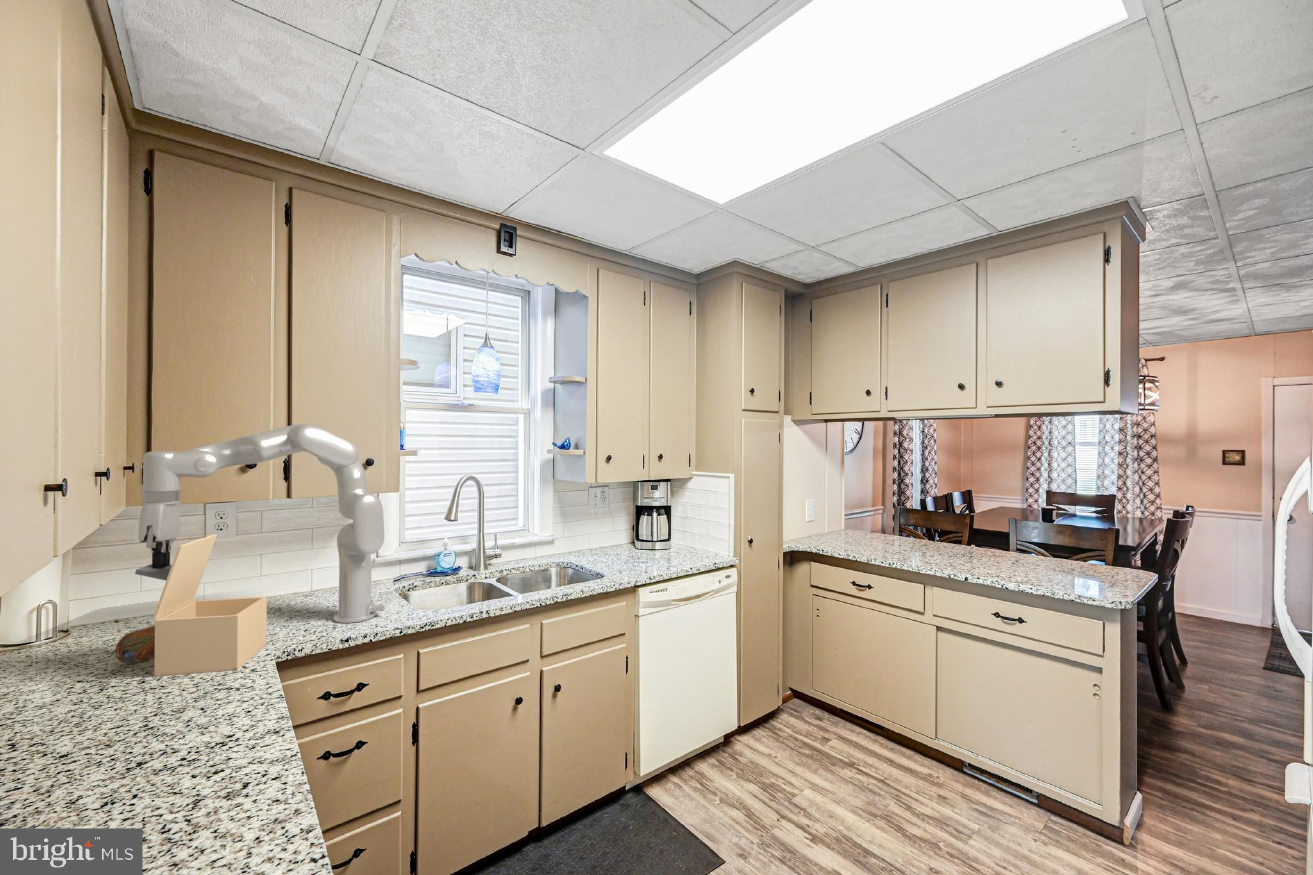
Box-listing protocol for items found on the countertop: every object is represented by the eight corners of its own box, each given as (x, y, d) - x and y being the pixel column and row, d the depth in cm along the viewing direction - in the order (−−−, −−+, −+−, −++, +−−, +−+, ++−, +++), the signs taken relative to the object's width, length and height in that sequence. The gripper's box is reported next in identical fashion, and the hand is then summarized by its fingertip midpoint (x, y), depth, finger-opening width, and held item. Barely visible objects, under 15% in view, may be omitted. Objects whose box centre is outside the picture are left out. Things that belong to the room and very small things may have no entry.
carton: (266, 645, 164) (266, 596, 164) (237, 669, 147) (237, 615, 147) (193, 650, 160) (193, 600, 160) (154, 676, 142) (155, 620, 142)
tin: (122, 669, 147) (122, 636, 147) (112, 667, 147) (113, 635, 147) (181, 648, 161) (181, 618, 161) (172, 647, 162) (172, 617, 162)
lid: (217, 534, 161) (179, 525, 159) (181, 546, 144) (138, 536, 141) (193, 599, 160) (155, 592, 157) (155, 619, 142) (110, 611, 140)
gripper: (161, 495, 156) (161, 561, 156) (126, 501, 142) (125, 574, 142) (193, 494, 158) (192, 560, 158) (161, 500, 144) (161, 572, 144)
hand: (161, 566), depth 150 cm, fingers closed
